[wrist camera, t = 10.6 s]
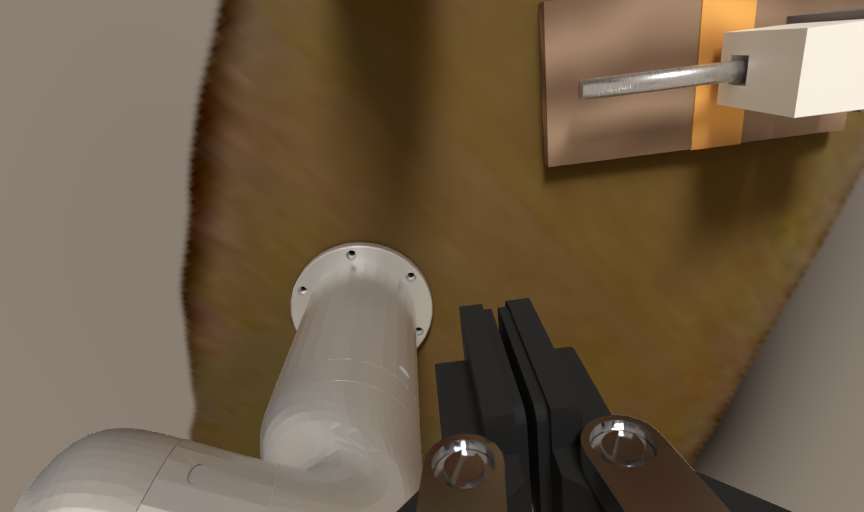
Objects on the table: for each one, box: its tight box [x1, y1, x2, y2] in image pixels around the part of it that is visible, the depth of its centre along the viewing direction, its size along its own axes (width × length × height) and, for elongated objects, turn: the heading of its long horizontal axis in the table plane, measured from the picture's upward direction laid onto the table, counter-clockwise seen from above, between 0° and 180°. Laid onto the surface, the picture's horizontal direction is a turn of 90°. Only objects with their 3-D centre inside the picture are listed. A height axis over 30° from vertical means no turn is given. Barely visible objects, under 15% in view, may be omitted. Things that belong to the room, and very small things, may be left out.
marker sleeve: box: [717, 19, 864, 118], centre depth 33 cm, size 5×5×8 cm
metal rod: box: [578, 59, 749, 101], centre depth 35 cm, size 1×16×1 cm, turn 97°
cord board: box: [539, 0, 864, 167], centre depth 39 cm, size 12×24×2 cm, turn 97°
